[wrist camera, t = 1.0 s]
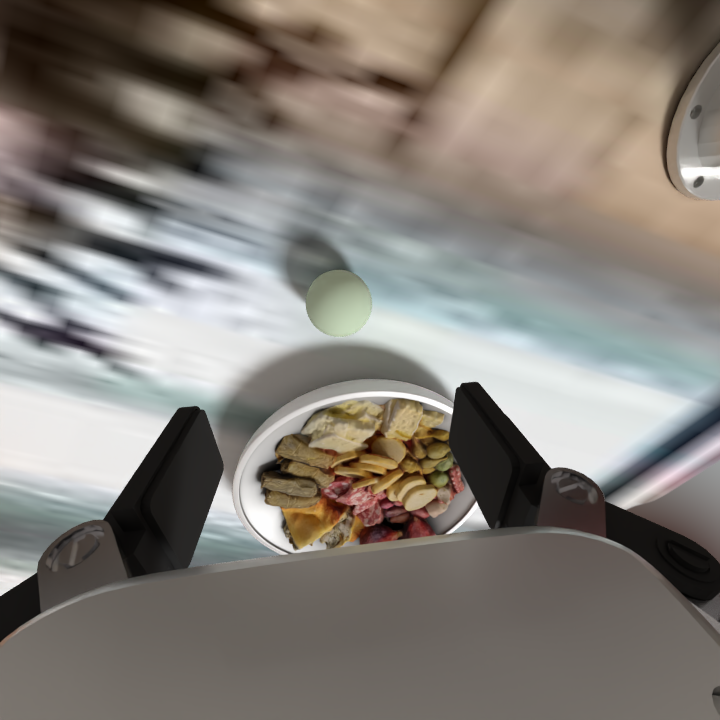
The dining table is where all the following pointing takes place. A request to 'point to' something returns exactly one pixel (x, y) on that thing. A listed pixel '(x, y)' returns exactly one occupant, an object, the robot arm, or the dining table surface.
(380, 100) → the dining table surface
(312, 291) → the sage ball
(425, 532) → the bowl
